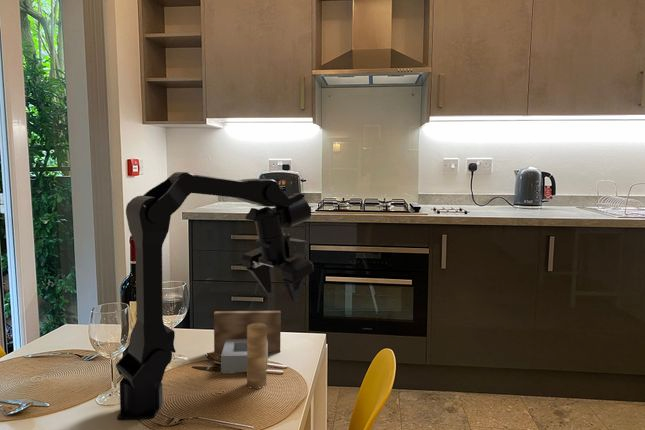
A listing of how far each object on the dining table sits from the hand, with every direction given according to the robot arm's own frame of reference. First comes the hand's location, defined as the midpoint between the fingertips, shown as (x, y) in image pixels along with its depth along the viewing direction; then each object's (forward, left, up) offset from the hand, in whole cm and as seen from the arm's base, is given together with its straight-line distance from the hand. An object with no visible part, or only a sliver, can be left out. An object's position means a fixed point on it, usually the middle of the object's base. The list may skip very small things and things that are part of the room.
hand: (282, 297), depth 107 cm
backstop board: (-8, +6, -15) cm, 18 cm away
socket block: (-8, -1, -15) cm, 17 cm away
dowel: (-5, -12, -15) cm, 20 cm away
